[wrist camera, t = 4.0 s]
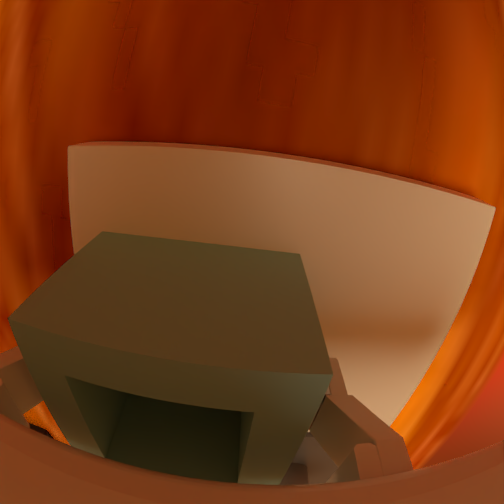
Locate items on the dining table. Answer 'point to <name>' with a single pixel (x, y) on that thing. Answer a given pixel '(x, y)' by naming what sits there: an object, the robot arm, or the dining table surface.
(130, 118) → the dining table surface
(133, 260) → the collar
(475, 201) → the post board
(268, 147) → the dining table surface
